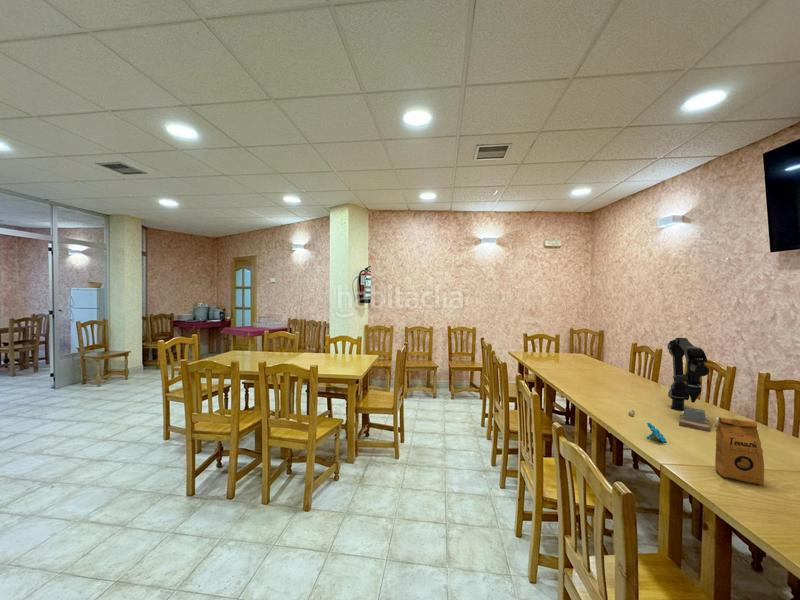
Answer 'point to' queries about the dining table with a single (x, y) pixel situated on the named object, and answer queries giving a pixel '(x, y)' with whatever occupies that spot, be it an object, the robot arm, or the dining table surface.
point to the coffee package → (739, 451)
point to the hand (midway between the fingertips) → (692, 400)
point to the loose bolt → (631, 413)
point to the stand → (694, 424)
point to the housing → (694, 415)
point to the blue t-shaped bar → (655, 433)
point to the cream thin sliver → (717, 421)
